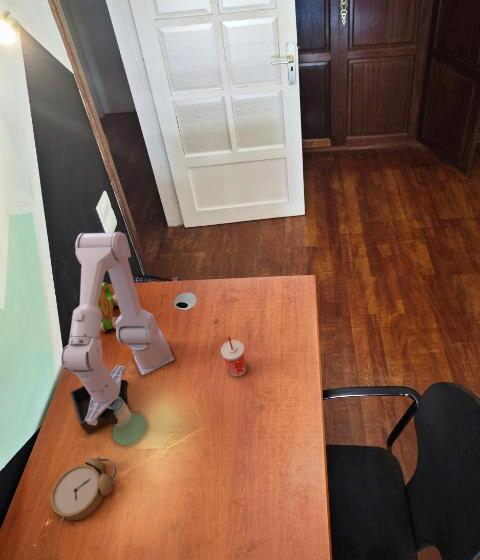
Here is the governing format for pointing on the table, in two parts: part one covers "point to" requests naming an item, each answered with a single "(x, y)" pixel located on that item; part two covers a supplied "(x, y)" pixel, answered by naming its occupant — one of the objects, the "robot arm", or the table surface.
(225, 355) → the beverage cup
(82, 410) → the bin
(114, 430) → the coaster
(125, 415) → the bottle
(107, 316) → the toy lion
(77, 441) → the table surface
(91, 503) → the alarm clock
